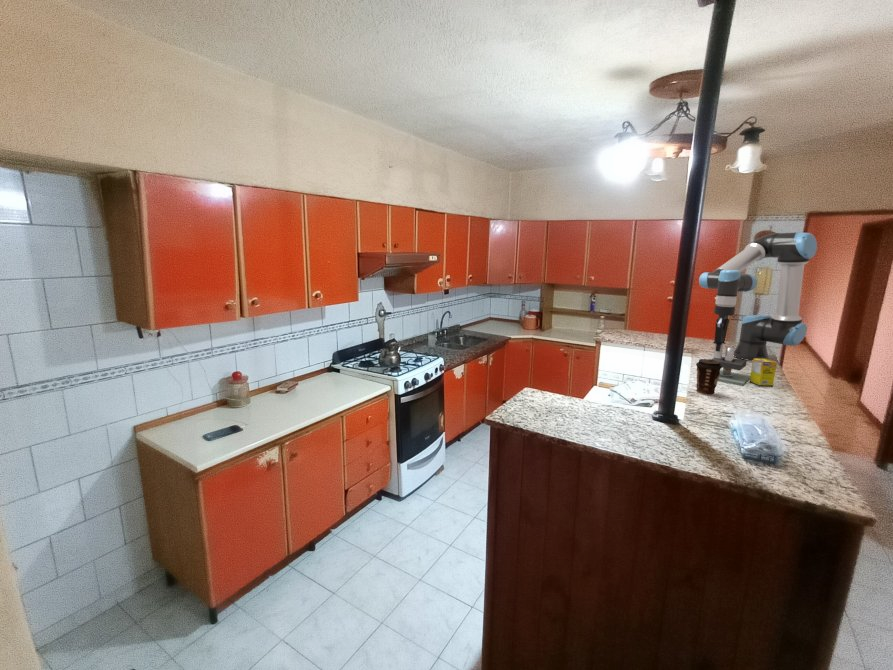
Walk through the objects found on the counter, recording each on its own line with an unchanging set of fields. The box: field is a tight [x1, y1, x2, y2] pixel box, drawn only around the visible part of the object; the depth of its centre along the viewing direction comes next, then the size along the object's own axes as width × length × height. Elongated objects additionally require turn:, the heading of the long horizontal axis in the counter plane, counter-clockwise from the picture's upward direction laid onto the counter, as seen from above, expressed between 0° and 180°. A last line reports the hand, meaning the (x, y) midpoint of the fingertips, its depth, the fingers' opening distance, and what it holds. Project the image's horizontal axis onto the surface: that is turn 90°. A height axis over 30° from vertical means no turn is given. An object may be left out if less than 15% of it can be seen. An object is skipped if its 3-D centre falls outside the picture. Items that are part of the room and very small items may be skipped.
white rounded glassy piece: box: [720, 346, 736, 377], centre depth 186 cm, size 4×4×13 cm
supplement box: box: [748, 358, 778, 388], centre depth 177 cm, size 6×6×11 cm
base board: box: [718, 369, 751, 387], centre depth 187 cm, size 16×16×1 cm
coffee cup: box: [695, 358, 723, 396], centre depth 166 cm, size 9×8×13 cm
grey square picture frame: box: [710, 355, 748, 371], centre depth 186 cm, size 11×11×2 cm
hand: (717, 357), depth 188 cm, fingers closed
